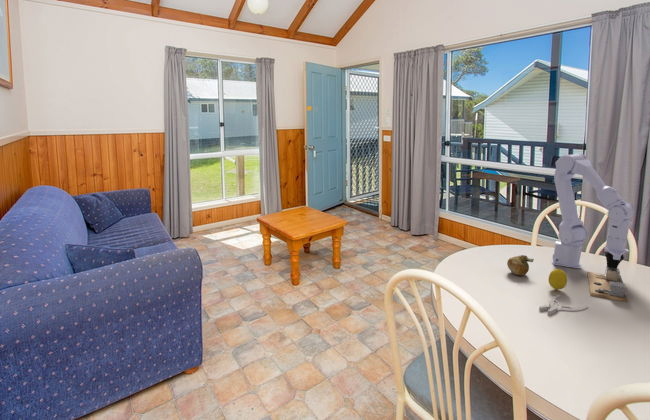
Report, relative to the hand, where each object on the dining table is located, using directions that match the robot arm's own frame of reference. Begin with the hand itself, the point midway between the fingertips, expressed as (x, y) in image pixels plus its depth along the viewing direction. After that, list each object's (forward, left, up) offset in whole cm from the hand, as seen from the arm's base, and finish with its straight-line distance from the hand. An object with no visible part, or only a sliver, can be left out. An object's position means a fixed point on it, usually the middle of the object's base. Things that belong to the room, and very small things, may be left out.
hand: (610, 271), depth 146 cm
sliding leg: (-1, -4, -1) cm, 4 cm away
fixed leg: (-1, -18, -1) cm, 18 cm away
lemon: (-17, -21, -3) cm, 27 cm away
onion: (-30, -12, -3) cm, 32 cm away
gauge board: (-2, -10, -2) cm, 10 cm away
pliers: (-16, -34, -3) cm, 38 cm away
